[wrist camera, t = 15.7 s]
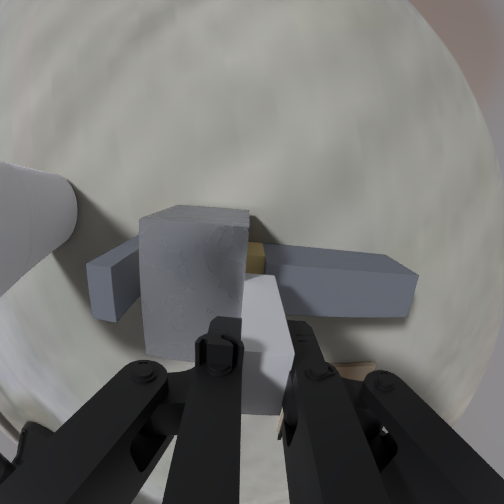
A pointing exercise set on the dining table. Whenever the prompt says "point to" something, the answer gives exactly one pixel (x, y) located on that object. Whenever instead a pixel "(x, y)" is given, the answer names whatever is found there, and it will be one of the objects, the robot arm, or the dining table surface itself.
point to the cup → (31, 219)
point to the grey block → (190, 274)
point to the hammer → (277, 281)
